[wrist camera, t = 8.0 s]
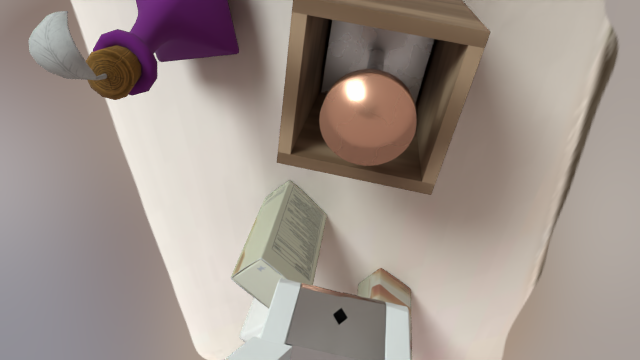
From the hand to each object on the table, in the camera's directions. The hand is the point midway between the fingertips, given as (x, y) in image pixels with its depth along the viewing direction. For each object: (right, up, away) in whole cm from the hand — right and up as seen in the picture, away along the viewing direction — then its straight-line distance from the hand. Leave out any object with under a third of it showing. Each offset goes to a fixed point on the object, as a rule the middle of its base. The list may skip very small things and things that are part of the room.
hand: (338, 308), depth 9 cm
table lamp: (+4, +13, +23) cm, 26 cm away
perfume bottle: (-11, +18, +26) cm, 34 cm away
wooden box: (+5, +15, +25) cm, 29 cm away
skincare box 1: (-3, 0, +36) cm, 36 cm away
